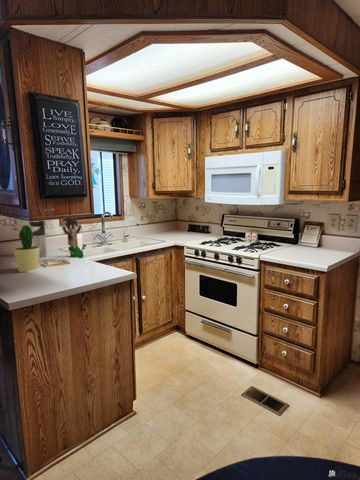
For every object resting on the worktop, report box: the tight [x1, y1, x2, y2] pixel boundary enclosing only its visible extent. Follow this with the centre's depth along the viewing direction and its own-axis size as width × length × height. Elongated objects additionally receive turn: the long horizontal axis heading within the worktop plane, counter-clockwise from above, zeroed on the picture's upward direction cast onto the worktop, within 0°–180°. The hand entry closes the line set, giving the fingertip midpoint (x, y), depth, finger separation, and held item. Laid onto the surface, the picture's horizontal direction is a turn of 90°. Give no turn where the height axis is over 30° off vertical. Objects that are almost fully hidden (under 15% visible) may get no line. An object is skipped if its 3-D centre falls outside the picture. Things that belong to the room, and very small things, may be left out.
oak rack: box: [40, 259, 71, 268], centre depth 217 cm, size 11×16×2 cm
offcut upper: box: [44, 259, 64, 265], centre depth 218 cm, size 3×11×2 cm, turn 138°
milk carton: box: [69, 233, 84, 259], centre depth 243 cm, size 9×9×20 cm
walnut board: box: [66, 227, 78, 247], centre depth 224 cm, size 3×10×12 cm, turn 40°
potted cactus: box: [13, 224, 40, 273], centre depth 203 cm, size 15×15×30 cm
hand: (72, 239), depth 224 cm, fingers closed on walnut board, 3 cm apart
